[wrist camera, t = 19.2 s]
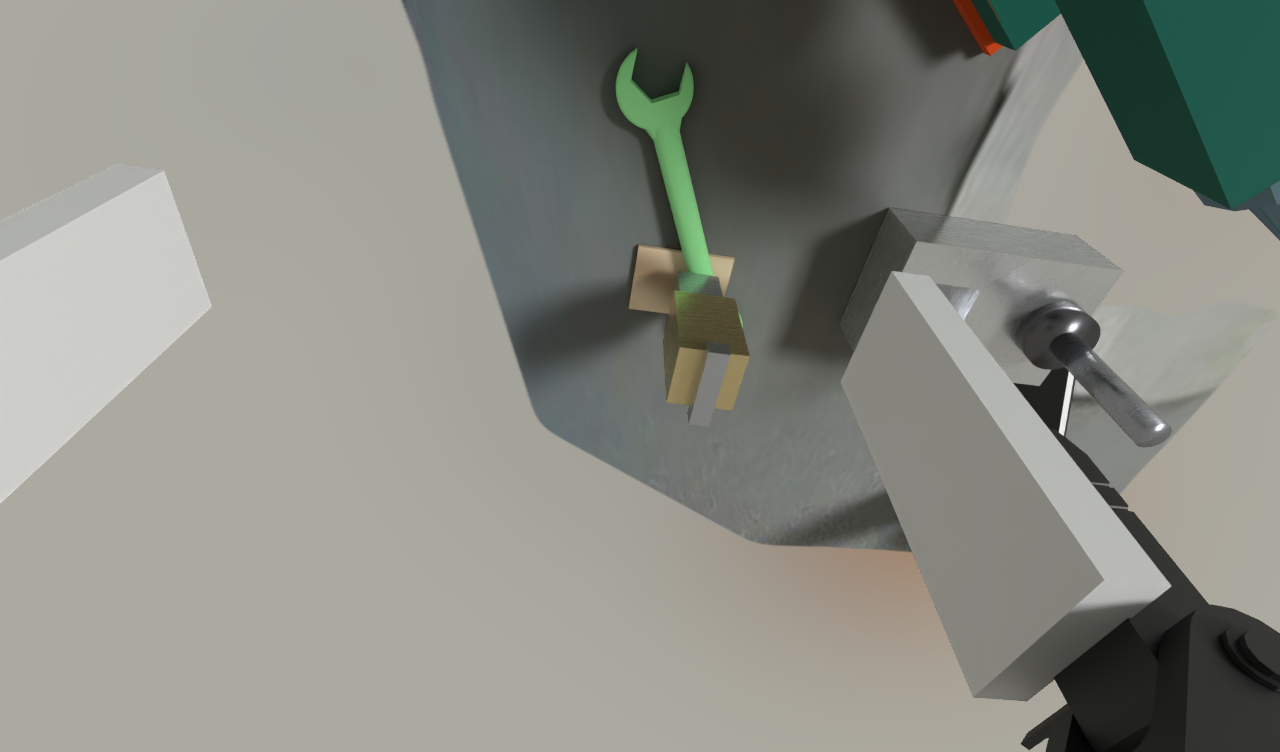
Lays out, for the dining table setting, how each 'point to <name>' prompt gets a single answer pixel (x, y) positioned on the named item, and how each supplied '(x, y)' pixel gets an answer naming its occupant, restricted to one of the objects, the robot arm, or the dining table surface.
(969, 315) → the block
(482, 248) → the dining table surface
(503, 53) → the dining table surface
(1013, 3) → the power tool
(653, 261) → the key mat
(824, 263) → the dining table surface
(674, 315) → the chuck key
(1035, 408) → the cell phone
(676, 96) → the wrench
